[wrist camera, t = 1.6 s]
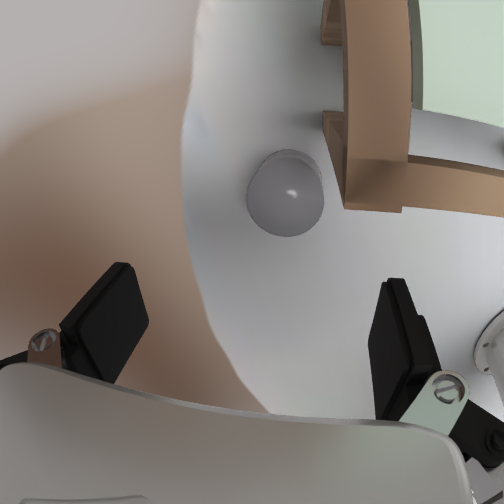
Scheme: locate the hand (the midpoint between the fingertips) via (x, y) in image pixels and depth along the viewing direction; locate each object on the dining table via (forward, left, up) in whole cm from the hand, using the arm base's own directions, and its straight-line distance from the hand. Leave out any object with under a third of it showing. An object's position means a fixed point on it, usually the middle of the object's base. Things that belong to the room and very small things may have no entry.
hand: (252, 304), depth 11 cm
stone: (0, 0, -16) cm, 16 cm away
